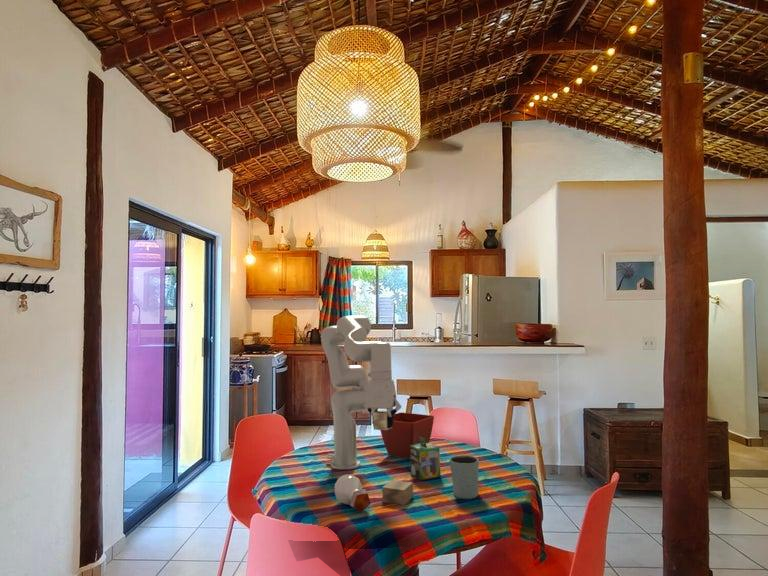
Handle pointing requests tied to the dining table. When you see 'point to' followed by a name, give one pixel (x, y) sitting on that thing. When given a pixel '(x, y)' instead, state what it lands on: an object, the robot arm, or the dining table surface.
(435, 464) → the chalk box
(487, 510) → the dining table surface
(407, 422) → the plant pot
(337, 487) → the potion bottle
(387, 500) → the tan square block
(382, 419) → the beech block
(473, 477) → the grey embossed cup
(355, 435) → the robot arm
